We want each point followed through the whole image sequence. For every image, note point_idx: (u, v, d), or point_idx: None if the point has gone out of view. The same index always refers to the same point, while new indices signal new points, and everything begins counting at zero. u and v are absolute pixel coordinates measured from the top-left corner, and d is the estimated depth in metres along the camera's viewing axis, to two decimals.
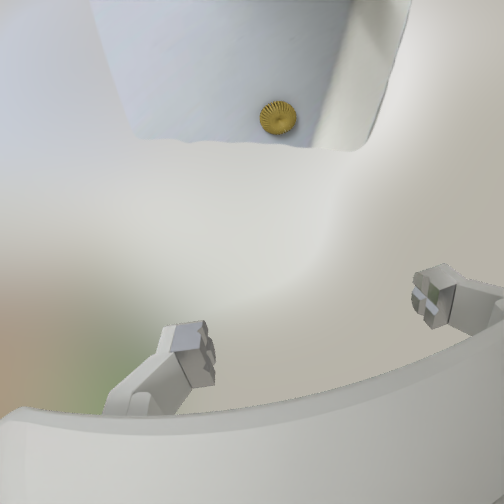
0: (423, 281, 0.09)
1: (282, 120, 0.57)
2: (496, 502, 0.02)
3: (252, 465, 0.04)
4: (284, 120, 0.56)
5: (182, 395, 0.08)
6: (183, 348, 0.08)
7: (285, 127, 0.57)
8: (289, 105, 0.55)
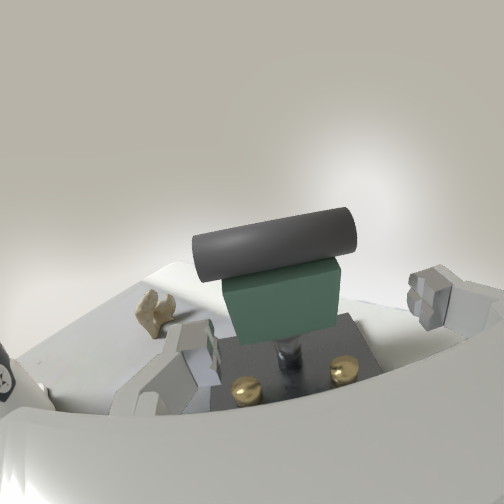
0: (418, 282, 0.09)
1: None
2: (496, 502, 0.02)
3: (252, 465, 0.04)
4: None
5: (189, 394, 0.08)
6: (190, 347, 0.08)
7: None
8: None
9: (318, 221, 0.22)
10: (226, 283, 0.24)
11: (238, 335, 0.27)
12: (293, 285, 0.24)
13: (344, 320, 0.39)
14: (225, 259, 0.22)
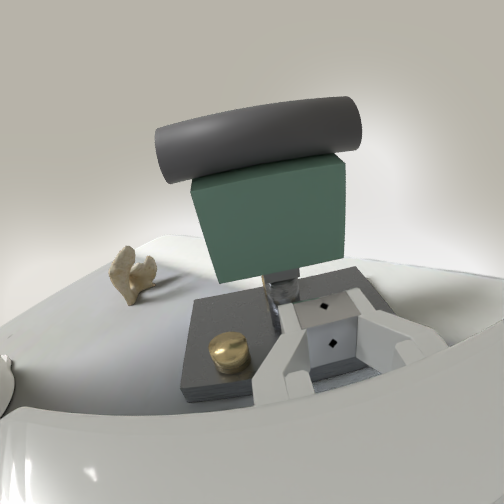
0: (323, 308, 0.09)
1: None
2: (496, 502, 0.02)
3: (252, 465, 0.04)
4: None
5: None
6: (313, 324, 0.08)
7: None
8: None
9: (311, 102, 0.16)
10: (197, 183, 0.18)
11: (215, 265, 0.21)
12: (284, 182, 0.18)
13: (352, 274, 0.33)
14: (194, 142, 0.16)
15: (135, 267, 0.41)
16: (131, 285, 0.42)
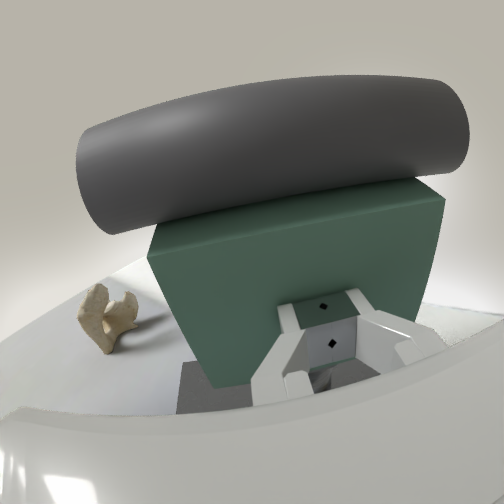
0: (323, 308, 0.09)
1: None
2: (496, 502, 0.02)
3: (252, 465, 0.04)
4: None
5: None
6: (312, 324, 0.08)
7: None
8: None
9: (387, 79, 0.08)
10: (163, 235, 0.09)
11: (206, 369, 0.12)
12: (340, 236, 0.09)
13: None
14: (150, 150, 0.07)
15: (111, 307, 0.32)
16: (108, 327, 0.33)
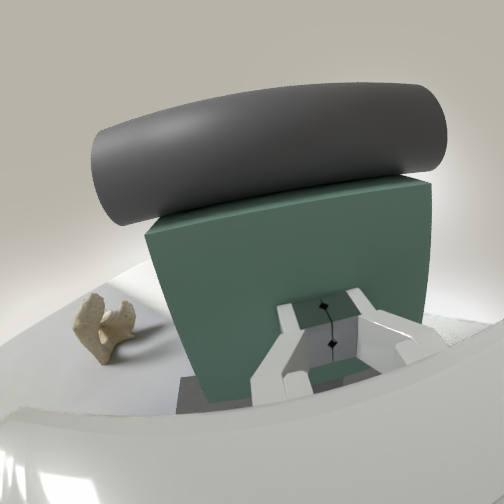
0: (324, 308, 0.09)
1: None
2: (496, 502, 0.02)
3: (252, 465, 0.04)
4: None
5: None
6: (312, 324, 0.08)
7: None
8: None
9: (363, 83, 0.09)
10: (163, 223, 0.10)
11: (199, 375, 0.11)
12: (329, 218, 0.09)
13: None
14: (156, 138, 0.08)
15: (107, 316, 0.30)
16: (104, 336, 0.31)
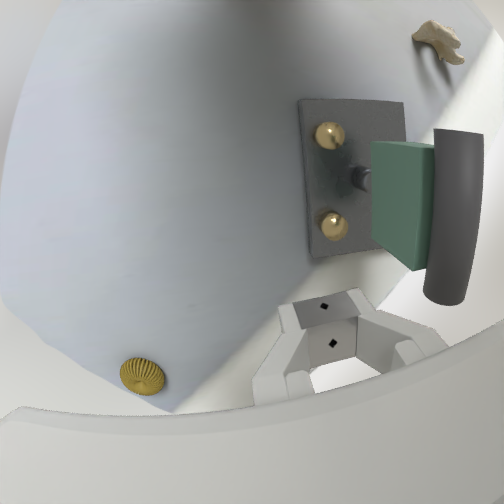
0: (323, 308, 0.09)
1: (143, 384, 0.43)
2: (496, 502, 0.02)
3: (252, 465, 0.04)
4: (145, 385, 0.43)
5: None
6: (313, 324, 0.08)
7: (144, 392, 0.43)
8: (158, 373, 0.43)
9: (459, 272, 0.17)
10: (429, 153, 0.18)
11: (379, 144, 0.23)
12: (412, 220, 0.20)
13: None
14: (450, 165, 0.15)
15: None
16: None
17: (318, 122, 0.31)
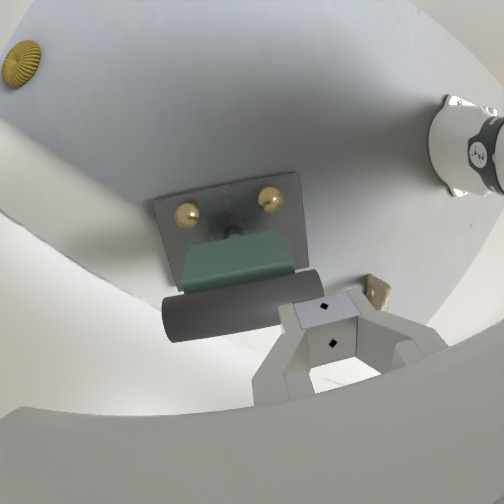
0: (323, 308, 0.09)
1: (14, 65, 0.24)
2: (496, 502, 0.02)
3: (252, 465, 0.04)
4: (13, 66, 0.24)
5: None
6: (313, 324, 0.08)
7: (5, 67, 0.24)
8: (25, 77, 0.27)
9: (198, 322, 0.22)
10: (290, 271, 0.26)
11: (278, 235, 0.31)
12: (226, 269, 0.26)
13: None
14: (290, 285, 0.23)
15: None
16: (374, 295, 0.47)
17: (279, 189, 0.38)
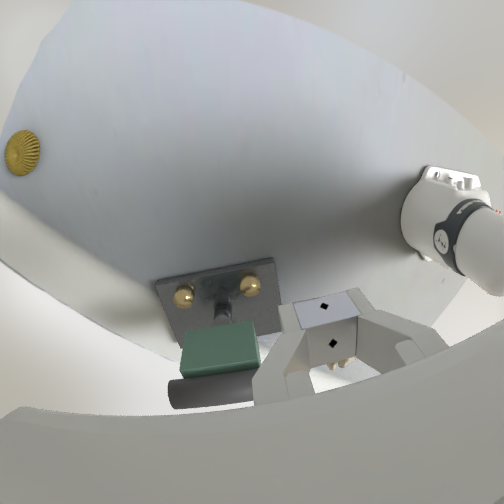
0: (323, 308, 0.09)
1: (16, 157, 0.34)
2: (496, 502, 0.02)
3: (252, 465, 0.04)
4: (15, 159, 0.34)
5: None
6: (313, 324, 0.08)
7: (8, 159, 0.33)
8: (29, 170, 0.36)
9: (192, 401, 0.31)
10: (255, 365, 0.34)
11: (252, 328, 0.39)
12: (211, 362, 0.34)
13: (183, 341, 0.51)
14: None
15: None
16: None
17: (258, 275, 0.47)
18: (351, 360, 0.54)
